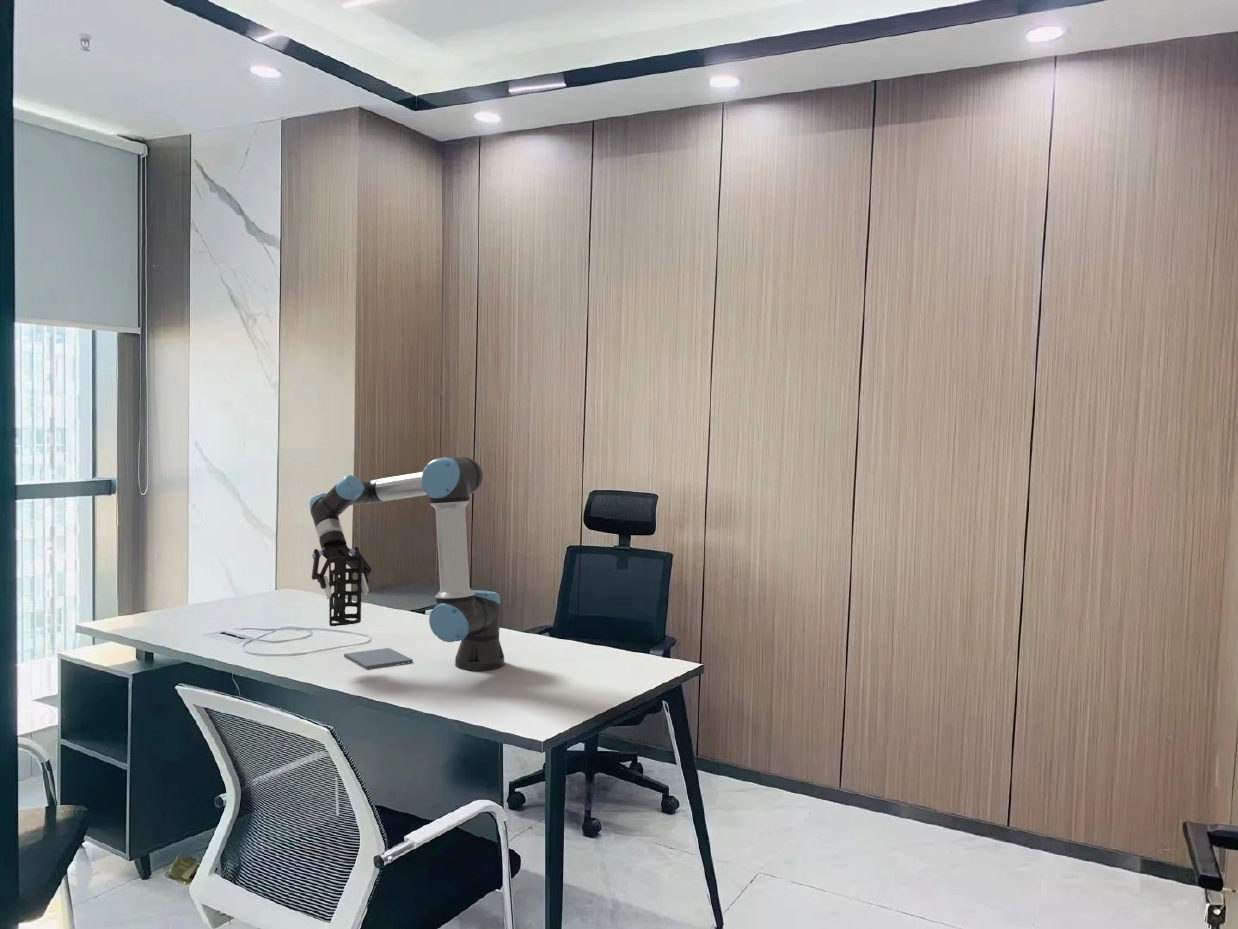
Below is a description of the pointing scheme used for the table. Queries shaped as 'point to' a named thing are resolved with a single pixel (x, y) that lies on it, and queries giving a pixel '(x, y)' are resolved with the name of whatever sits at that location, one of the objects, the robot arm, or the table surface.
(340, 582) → the holder
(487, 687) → the table surface
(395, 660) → the mat
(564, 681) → the table surface
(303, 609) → the table surface
